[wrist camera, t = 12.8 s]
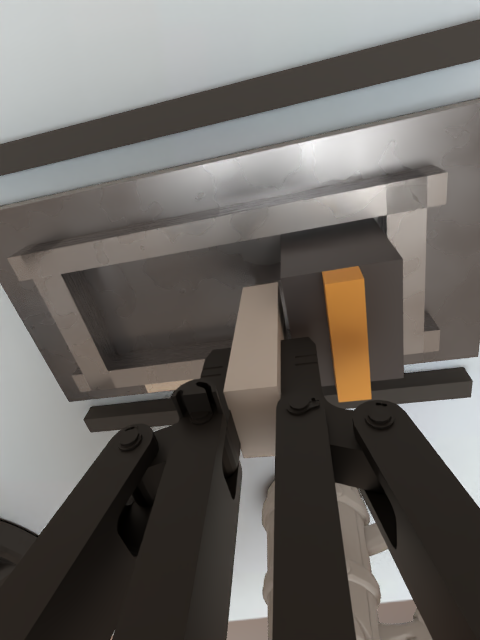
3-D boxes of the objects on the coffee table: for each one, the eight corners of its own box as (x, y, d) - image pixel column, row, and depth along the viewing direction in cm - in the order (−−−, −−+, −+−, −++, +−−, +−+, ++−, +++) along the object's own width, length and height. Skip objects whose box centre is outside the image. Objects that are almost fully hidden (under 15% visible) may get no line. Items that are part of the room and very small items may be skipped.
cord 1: (97, 419, 27) (90, 432, 26) (91, 407, 27) (83, 419, 26) (462, 383, 23) (470, 397, 22) (463, 367, 22) (472, 380, 21)
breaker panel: (79, 386, 26) (56, 420, 23) (-17, 210, 20) (-63, 228, 17) (466, 340, 21) (492, 376, 19) (488, 96, 15) (531, 97, 13)
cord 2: (-32, 182, 19) (-50, 187, 18) (-46, 157, 19) (-65, 161, 18) (491, 55, 15) (507, 52, 14) (495, 16, 14) (511, 10, 13)
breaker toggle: (296, 324, 20) (301, 406, 15) (280, 232, 17) (280, 291, 12) (376, 313, 19) (411, 395, 14) (371, 215, 17) (411, 271, 12)
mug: (250, 470, 29) (234, 682, 18) (417, 450, 26) (506, 684, 16) (276, 529, 32) (273, 734, 22) (425, 516, 30) (501, 743, 19)
